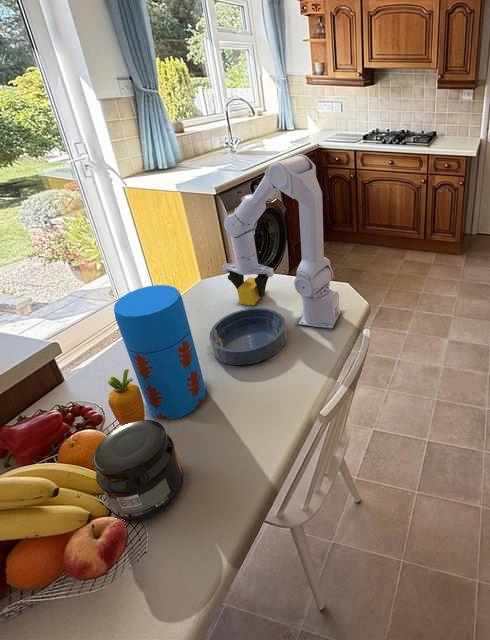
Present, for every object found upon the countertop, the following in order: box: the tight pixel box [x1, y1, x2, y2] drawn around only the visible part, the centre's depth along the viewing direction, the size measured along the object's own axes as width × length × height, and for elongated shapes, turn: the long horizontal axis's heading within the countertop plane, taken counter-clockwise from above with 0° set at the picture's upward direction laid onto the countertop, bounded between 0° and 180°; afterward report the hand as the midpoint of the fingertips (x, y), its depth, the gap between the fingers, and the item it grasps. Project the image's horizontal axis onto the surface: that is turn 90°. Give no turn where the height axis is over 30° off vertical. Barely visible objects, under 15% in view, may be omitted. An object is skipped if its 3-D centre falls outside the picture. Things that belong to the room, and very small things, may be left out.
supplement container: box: [92, 419, 184, 523], centre depth 65 cm, size 10×10×12 cm
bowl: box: [209, 307, 288, 366], centre depth 101 cm, size 18×18×4 cm
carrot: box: [107, 368, 146, 426], centre depth 74 cm, size 5×5×15 cm
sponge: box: [236, 276, 261, 306], centre depth 119 cm, size 4×7×5 cm, turn 171°
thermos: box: [113, 284, 206, 421], centre depth 79 cm, size 11×11×25 cm
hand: (252, 294), depth 119 cm, fingers open, 6 cm apart
